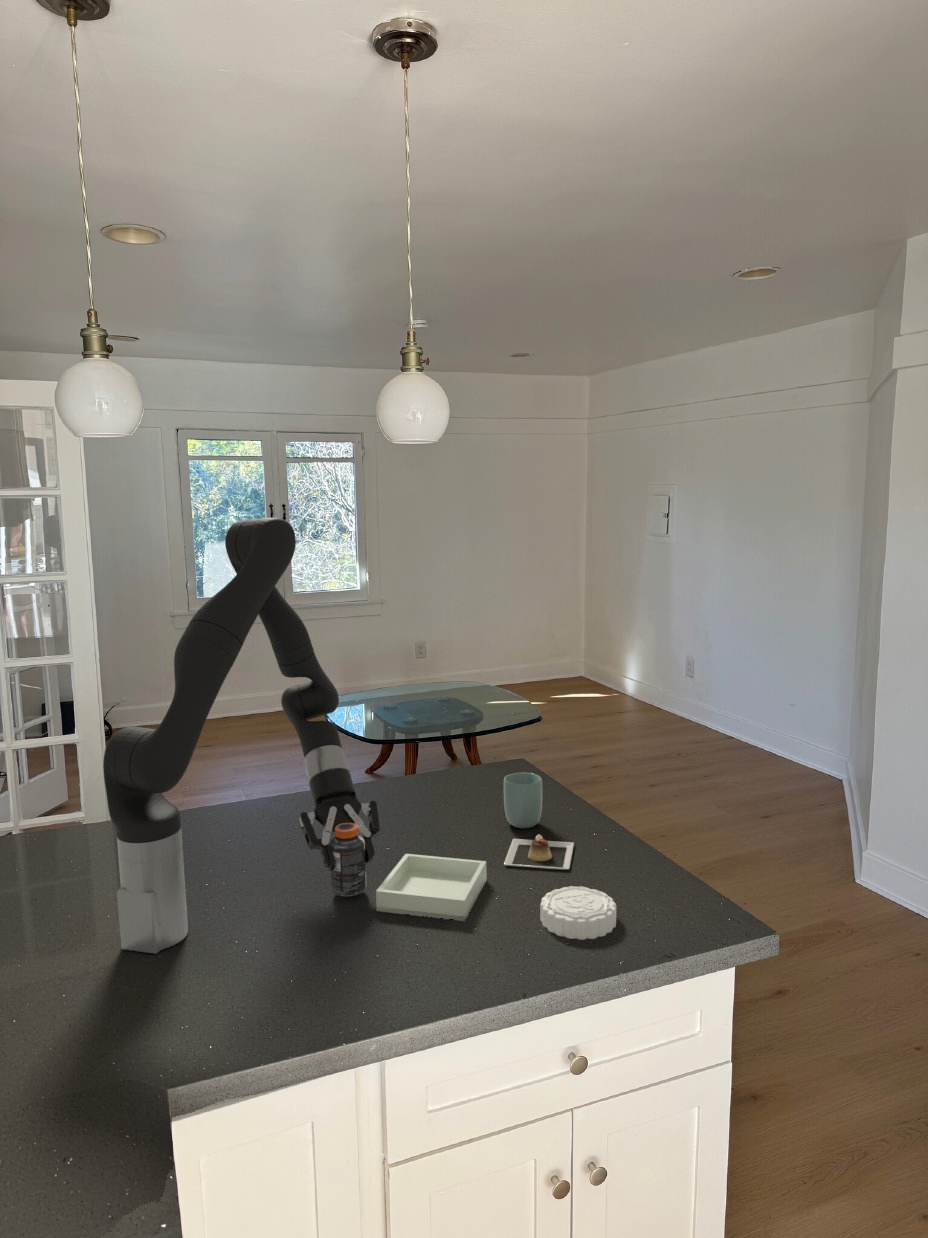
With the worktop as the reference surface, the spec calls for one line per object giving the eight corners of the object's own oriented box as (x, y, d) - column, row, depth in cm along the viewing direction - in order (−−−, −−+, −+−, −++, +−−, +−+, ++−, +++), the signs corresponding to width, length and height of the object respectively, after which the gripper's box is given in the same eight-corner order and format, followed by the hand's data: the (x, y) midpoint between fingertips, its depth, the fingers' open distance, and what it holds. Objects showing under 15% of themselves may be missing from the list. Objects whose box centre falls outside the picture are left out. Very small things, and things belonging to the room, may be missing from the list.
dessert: (569, 875, 149) (569, 849, 149) (503, 870, 152) (503, 845, 151) (574, 848, 161) (574, 824, 160) (513, 844, 163) (512, 820, 163)
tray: (464, 921, 132) (464, 900, 132) (376, 911, 136) (375, 891, 135) (486, 880, 146) (486, 861, 146) (406, 872, 150) (405, 853, 150)
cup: (497, 822, 173) (497, 775, 172) (530, 815, 177) (530, 770, 175) (515, 835, 166) (515, 787, 165) (549, 828, 170) (548, 781, 168)
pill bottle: (369, 882, 144) (367, 820, 143) (362, 898, 139) (360, 833, 137) (336, 881, 145) (334, 819, 143) (327, 897, 139) (325, 832, 138)
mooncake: (557, 946, 125) (557, 924, 124) (529, 909, 136) (529, 889, 136) (629, 934, 128) (630, 912, 127) (596, 899, 139) (597, 879, 139)
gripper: (292, 772, 143) (312, 864, 134) (371, 760, 149) (396, 848, 140) (286, 792, 148) (305, 882, 139) (363, 780, 154) (386, 865, 145)
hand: (351, 864), depth 140 cm, fingers closed on pill bottle, 6 cm apart
